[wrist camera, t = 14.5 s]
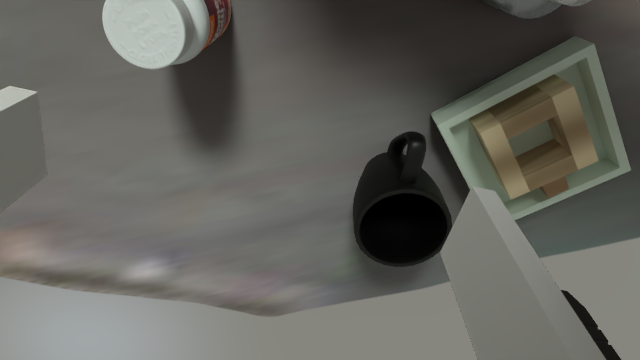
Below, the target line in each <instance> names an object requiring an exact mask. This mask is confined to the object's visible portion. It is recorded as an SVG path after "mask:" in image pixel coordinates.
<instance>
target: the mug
mask: <svg viewBox="0 0 640 360" xmlns="http://www.w3.org/2000/svg"><path fill="white" fill-rule="evenodd" d="M407 144H408V148H407V154H406V156H405V155H403V154H402V152H403V149H404V147H405V146H406V145H407ZM425 152H426V140H425V137H424V136H423V135H422V134H420V133H418V132H406V133H403V134H401V135H399V136H397V137H396V138H394V139H393V140H392V141H391V143H390V145H389V148H388V152H387V153H382V154H380V155H377V156H376V157H374V158H373V159H371V160H370V161H369V162H368V163H367V165H366V167H365V169H364V172H363V174H362V176H361V178H360V180H359V183H358V186H357V189H356V192H355V197H354V204H353V221H354V233H355V237H356V241H357V243H358V245H359V247H360V249H361V250H362V251H363V252H364V253H365V254H366V255H367V256H368V257H369V258H371V259H373V260H374V261H376V262H378V263H381V264H384V265H388V266H395V267H405V266H411V265H416V264H418V263H421V262H424V261H426V260H428V259H430V258H432V257H433V256H434V255H436V254H437V253H438V252H439V251H440V250H441V249H442V248H443V245H444V243H445V241H446V239H447V237H448V235H449V233H450V231H451V228H452V220H451V215H450V212H449V210H448V207H447V205H446V203H445V200H444V198H443V196H442V194H441V192H440V190H439V188H438V187H437V185H436V184H435V182H434V181H433V180H432V178H431V177H430V176H429V175H428V174H427V173H426V172H425V171H424V170H423V169H422V168H421V167H422V164H423V160H424V156H425Z"/></svg>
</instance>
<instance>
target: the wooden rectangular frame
mask: <svg viewBox="0 0 640 360" xmlns="http://www.w3.org/2000/svg"><path fill="white" fill-rule="evenodd" d="M468 119H469V121H470V123H471V125H472V127H473V129H474V131H475V133H476V135H477V138H478V140H479V142H480V144H481V146H482V148H483V150H484V152H485V154H486V156H487V159H488V161H489V163H490V165H491V167H492V169H493V171H494V173H495V175H496V178H497V180H498V182H499V183H500V184H501V186H502V187H503V189H504V190H505V192H506V193H507V194H508V196H509V197H510V199H511V200H512V199H514V198H516V197H519V196H521V195H523V194H525V193H528V192H530V191H532V190H534V189H537V188H540V189H541V191H542V192H543V193H544V194H545V195H546V196H547V198H549V197H552V196H554V195H556V194H559V193H561V192H563V191H566V190H568V189H569V186H568V183H567V181H566V178H565V176H566V175H568V174H570V173H572V172H575V171H577V170H579V169H581V168H584V167H586V166H588V165H590V164H593V163H595V162H597V161H599V160H598V157H597V154H596V151H595V148H594V145H593V142H592V139H591V136H590V133H589V130H588V127H587V124H586V121H585V118H584V115H583V112H582V109H581V106H580V103H579V100H578V97H577V94H576V91H575V87H574V86H573V85H571V84H570V83H568V82H566V81H564V80H563V79H561V78H559V77H558V76H556V75H552V76H550V77H548V78H546V79H544V80H542V81H540V82H538V83H536V84H534V85H532V86H530V87H528V88H526V89H525V90H523V91H521V92H519V93H517V94H515V95H513V96H511V97H509V98H507V99H505V100H503V101H501V102H499V103H497V104H495V105H494V106H492V107H490V108H488V109H486V110H484V111H482V112H480V113H478V114H476V115H474V116H472V117H470V118H468ZM545 121H548V124H549V126H550V129H551V132H552V134H553V137H554V139H552V140H550V141H548V142H546V143H544V144H542V145H539V146H537V147H535V148H533V149H531V150H529V151H527V152H525V153H523V154H520V155H518V156H516V157H515V156H514V154H513V151H512V149H511V147H510V145H509V142H508V139H510V138H512V137H514V136H516V135H518V134H520V133H522V132H524V131H526V130H528V129H530V128H532V127H534V126H536V125H538V124H541V123H543V122H545Z"/></svg>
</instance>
